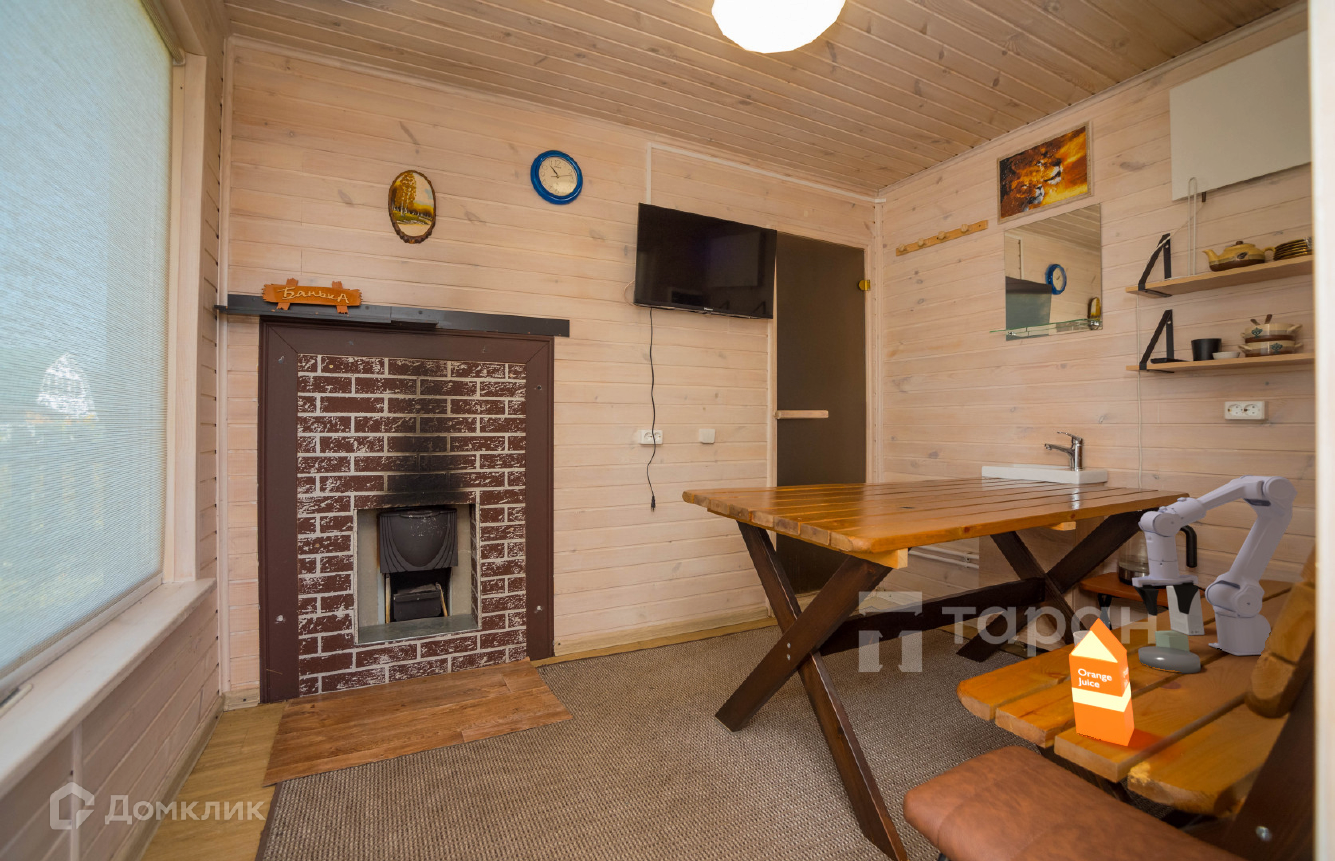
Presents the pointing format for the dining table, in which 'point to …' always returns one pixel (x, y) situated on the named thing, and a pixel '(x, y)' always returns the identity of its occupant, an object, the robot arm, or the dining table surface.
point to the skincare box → (1185, 615)
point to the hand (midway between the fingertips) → (1168, 614)
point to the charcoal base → (1170, 659)
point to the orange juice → (1101, 687)
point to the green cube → (1172, 640)
